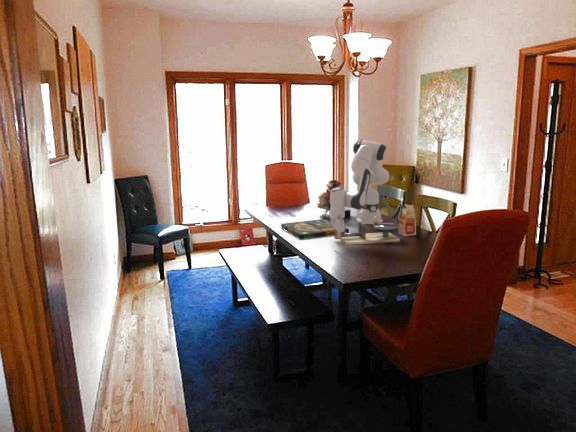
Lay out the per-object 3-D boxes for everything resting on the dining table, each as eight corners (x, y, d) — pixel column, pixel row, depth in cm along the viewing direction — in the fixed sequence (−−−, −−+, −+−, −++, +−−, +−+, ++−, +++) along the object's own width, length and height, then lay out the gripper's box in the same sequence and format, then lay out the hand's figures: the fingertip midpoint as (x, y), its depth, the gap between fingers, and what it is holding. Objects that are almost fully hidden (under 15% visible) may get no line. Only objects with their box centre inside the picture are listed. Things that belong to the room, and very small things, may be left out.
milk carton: (404, 236, 278) (405, 205, 274) (397, 232, 287) (398, 202, 283) (417, 234, 280) (418, 204, 276) (409, 231, 289) (410, 201, 285)
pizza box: (325, 223, 321) (325, 218, 321) (348, 234, 289) (348, 228, 289) (281, 228, 309) (281, 223, 309) (300, 240, 277) (300, 234, 277)
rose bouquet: (350, 214, 350) (350, 177, 344) (351, 222, 321) (351, 181, 315) (318, 214, 352) (317, 177, 346) (316, 222, 324) (316, 182, 318)
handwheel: (398, 224, 276) (398, 215, 275) (398, 230, 262) (398, 220, 261) (373, 224, 280) (374, 214, 279) (372, 229, 266) (372, 219, 264)
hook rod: (334, 237, 270) (334, 230, 270) (361, 236, 273) (361, 228, 272) (335, 239, 267) (335, 231, 266) (362, 237, 269) (362, 230, 268)
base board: (338, 237, 278) (337, 220, 276) (389, 234, 283) (389, 217, 281) (345, 244, 261) (345, 226, 259) (399, 241, 266) (400, 223, 263)
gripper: (347, 217, 256) (347, 240, 259) (338, 210, 276) (338, 232, 279) (336, 217, 255) (336, 240, 258) (328, 211, 275) (328, 232, 278)
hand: (337, 236), depth 269 cm, fingers open, 4 cm apart
